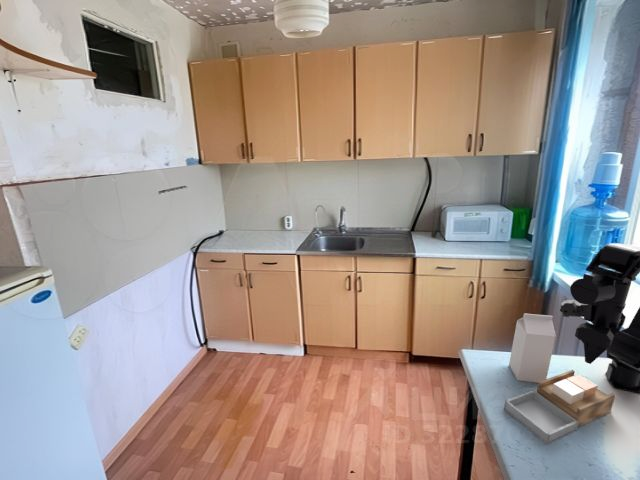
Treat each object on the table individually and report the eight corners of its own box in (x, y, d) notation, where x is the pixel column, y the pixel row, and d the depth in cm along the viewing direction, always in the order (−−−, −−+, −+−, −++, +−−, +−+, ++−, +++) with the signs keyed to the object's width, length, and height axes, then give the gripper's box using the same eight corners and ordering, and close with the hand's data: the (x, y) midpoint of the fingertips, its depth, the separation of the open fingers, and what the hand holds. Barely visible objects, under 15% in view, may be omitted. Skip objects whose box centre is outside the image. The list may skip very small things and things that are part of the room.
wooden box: (568, 386, 91) (572, 369, 90) (610, 412, 82) (615, 394, 81) (535, 398, 87) (538, 382, 85) (575, 428, 78) (580, 409, 76)
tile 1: (563, 387, 85) (565, 378, 85) (582, 399, 81) (584, 390, 81) (551, 391, 84) (553, 383, 83) (570, 404, 80) (572, 395, 79)
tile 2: (576, 382, 87) (578, 374, 86) (595, 394, 83) (597, 385, 82) (564, 386, 85) (566, 378, 85) (583, 398, 81) (585, 390, 81)
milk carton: (545, 384, 92) (559, 322, 87) (517, 380, 93) (528, 320, 88) (534, 368, 99) (547, 310, 94) (508, 364, 100) (519, 307, 95)
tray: (531, 398, 87) (533, 390, 86) (576, 430, 77) (578, 421, 77) (503, 408, 84) (505, 400, 83) (546, 444, 74) (548, 435, 73)
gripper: (578, 278, 90) (565, 330, 95) (557, 296, 79) (542, 354, 83) (633, 292, 82) (616, 348, 86) (618, 314, 71) (599, 377, 75)
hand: (592, 355), depth 83 cm, fingers open, 9 cm apart
